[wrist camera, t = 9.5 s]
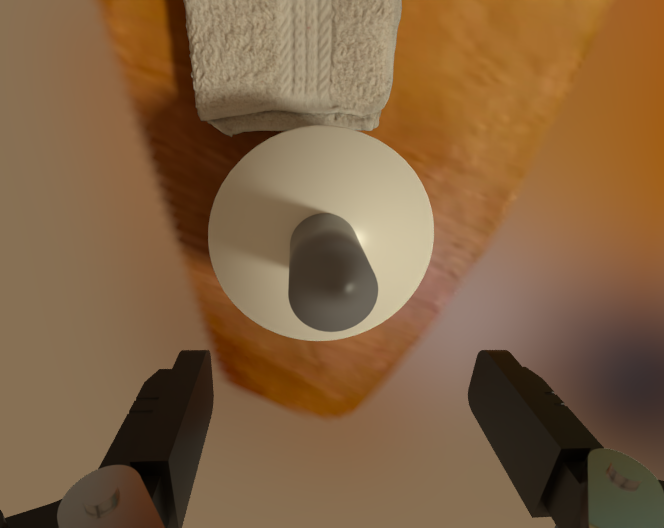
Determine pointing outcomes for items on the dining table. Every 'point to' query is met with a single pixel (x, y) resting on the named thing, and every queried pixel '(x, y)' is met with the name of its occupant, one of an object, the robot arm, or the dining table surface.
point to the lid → (320, 233)
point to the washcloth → (291, 62)
